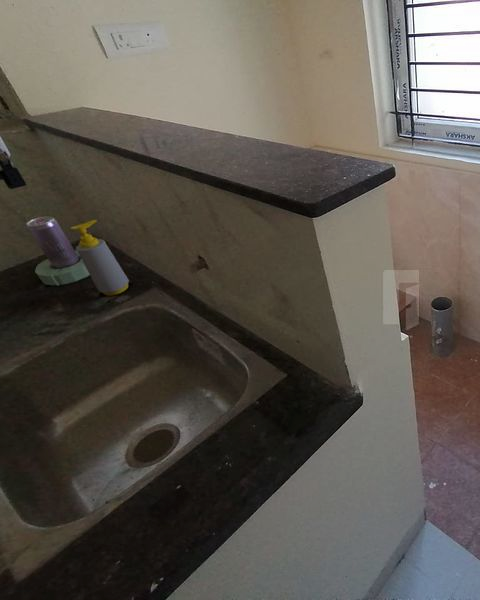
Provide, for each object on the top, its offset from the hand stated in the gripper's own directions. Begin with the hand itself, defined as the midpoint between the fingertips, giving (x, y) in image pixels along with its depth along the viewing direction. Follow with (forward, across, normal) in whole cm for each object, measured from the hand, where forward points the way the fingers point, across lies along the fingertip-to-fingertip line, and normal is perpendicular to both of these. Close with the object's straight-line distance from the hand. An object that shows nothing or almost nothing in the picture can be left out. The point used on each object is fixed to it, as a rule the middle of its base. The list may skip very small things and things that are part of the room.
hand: (11, 182), depth 90 cm
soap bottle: (+25, +20, +4) cm, 32 cm away
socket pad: (+25, 0, +1) cm, 25 cm away
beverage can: (+25, 0, +1) cm, 25 cm away
